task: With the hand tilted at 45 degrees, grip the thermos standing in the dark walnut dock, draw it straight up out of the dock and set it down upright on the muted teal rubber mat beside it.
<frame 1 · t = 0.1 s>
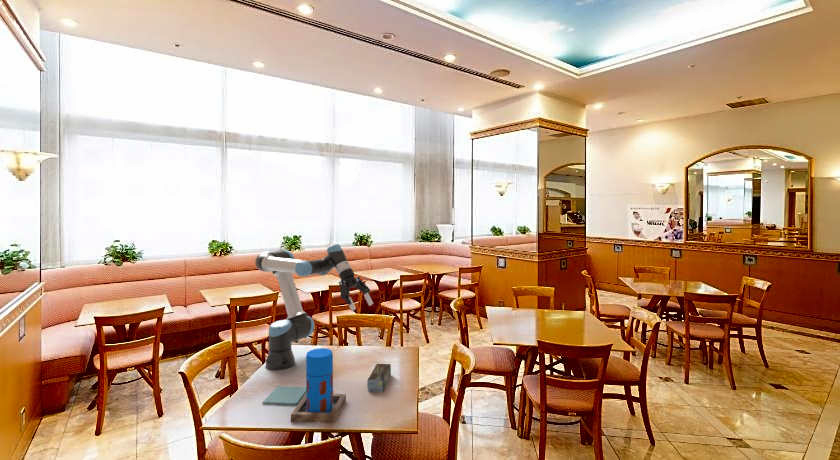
hand: (362, 307, 193), 36 cm above the table, tool tilted 35°, fingers open, 13 cm apart
thermos: (319, 411, 161), resting in dock
mat: (286, 396, 173), on the table
dock: (319, 410, 161), on the table
beverage carton: (379, 383, 188), on the table
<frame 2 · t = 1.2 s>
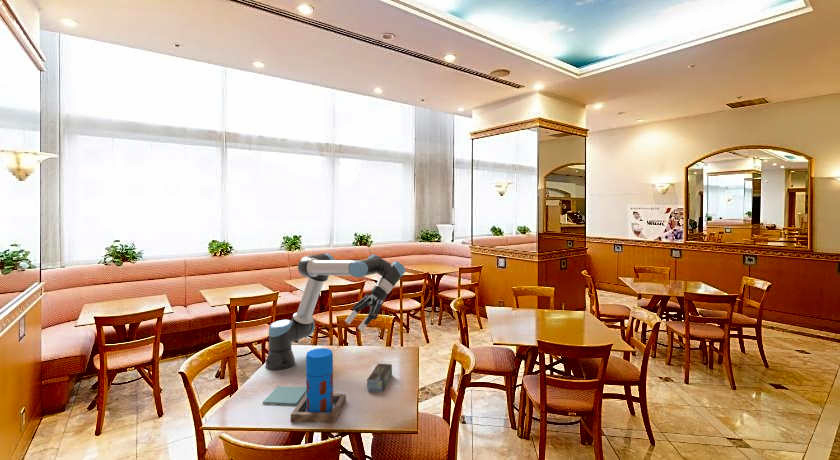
hand: (353, 326, 173), 32 cm above the table, tool tilted 45°, fingers open, 13 cm apart
nothing on the table moved.
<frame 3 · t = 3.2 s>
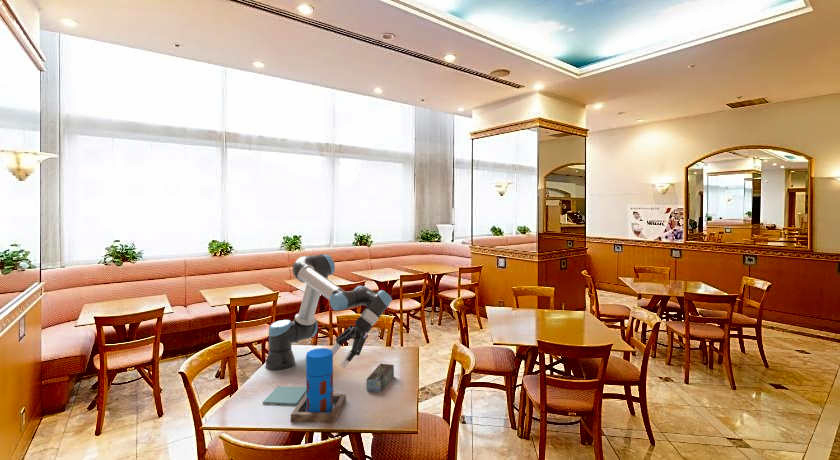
hand: (335, 361, 163), 20 cm above the table, tool tilted 45°, fingers open, 13 cm apart
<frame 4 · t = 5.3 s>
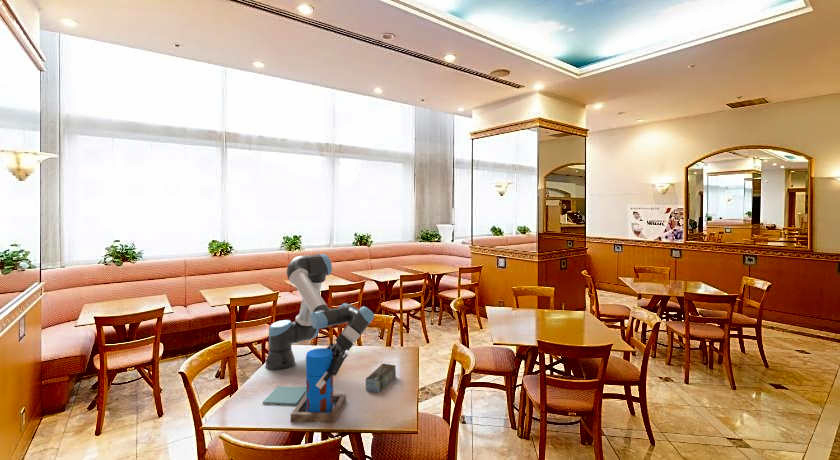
hand: (313, 382, 159), 13 cm above the table, tool tilted 45°, fingers closed on thermos, 11 cm apart
thermos: (319, 411, 161), resting in dock, touching gripper
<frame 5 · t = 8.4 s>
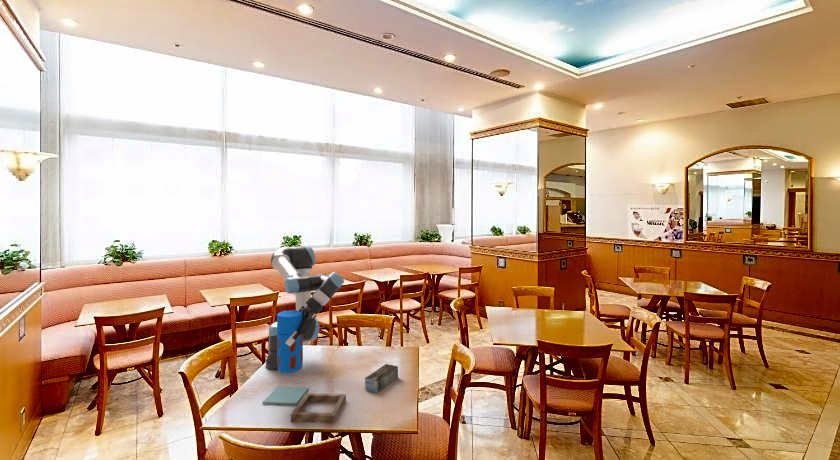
hand: (283, 340, 168), 27 cm above the table, tool tilted 45°, fingers closed on thermos, 11 cm apart
thermos: (290, 368, 171), point 14 cm above the table, touching gripper
when the fingers open (16 cm above the table, at t = 11.5 s): thermos drops 1 cm, resting on mat.
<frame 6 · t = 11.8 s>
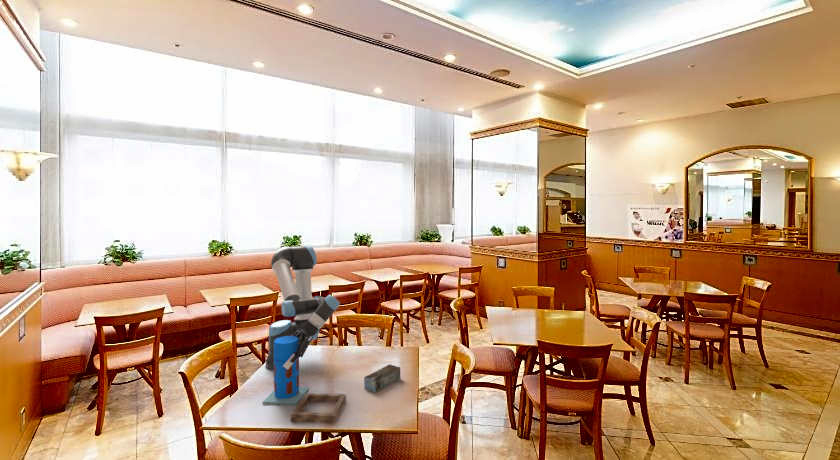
hand: (280, 362, 171), 16 cm above the table, tool tilted 45°, fingers open, 13 cm apart
thermos: (286, 393, 174), point 1 cm above the table, touching mat
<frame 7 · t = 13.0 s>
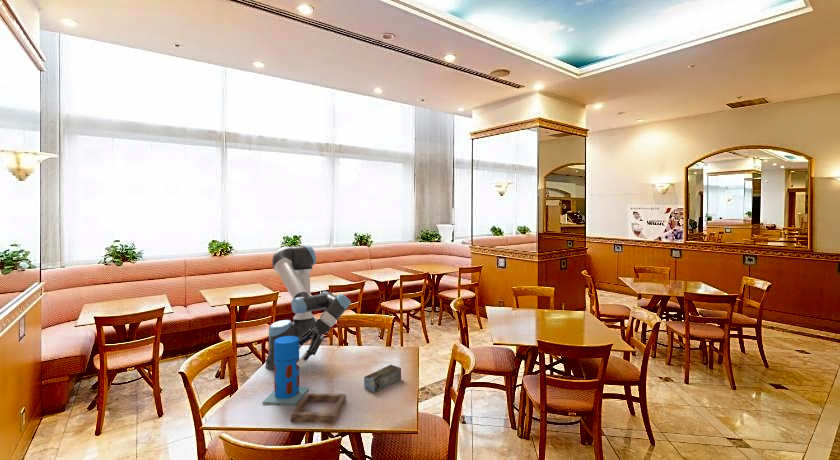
hand: (294, 360, 174), 16 cm above the table, tool tilted 45°, fingers open, 13 cm apart
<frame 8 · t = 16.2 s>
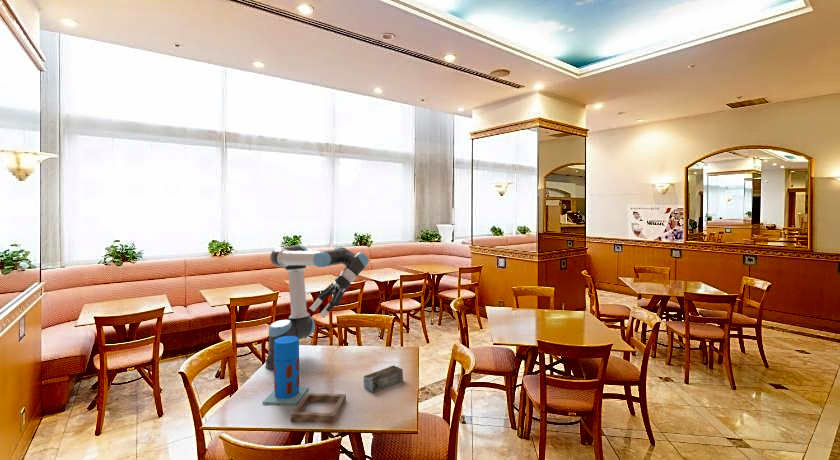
hand: (316, 313, 182), 36 cm above the table, tool tilted 45°, fingers open, 13 cm apart
at the end: thermos inside the target area on the mat (1.0 cm from its centre), point 0.8 cm above the mat's base; thermos tilted 0°; the gripper is holding nothing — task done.
